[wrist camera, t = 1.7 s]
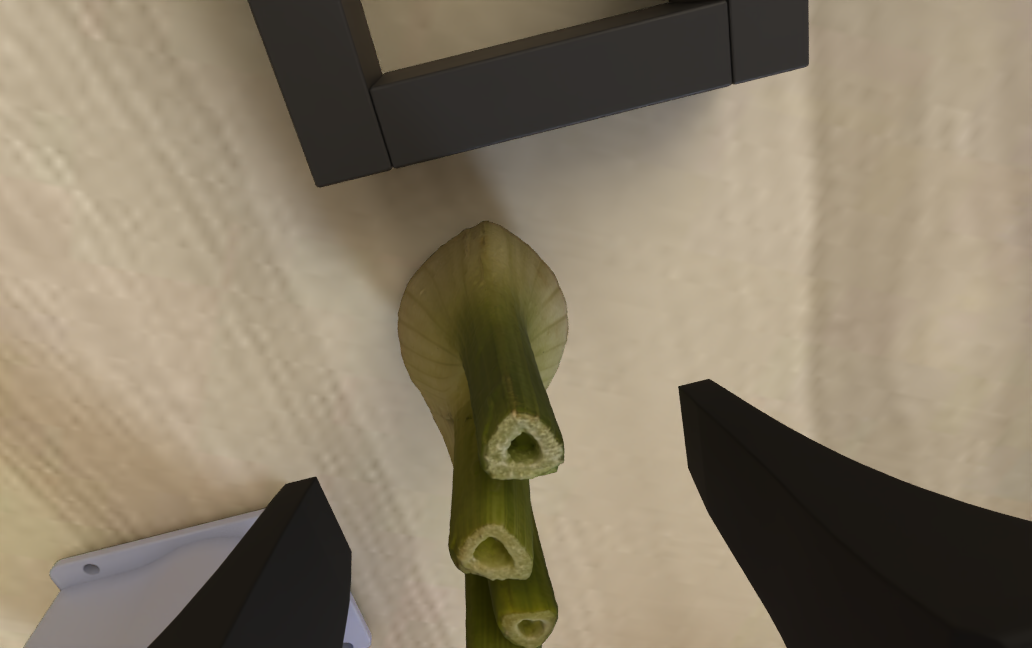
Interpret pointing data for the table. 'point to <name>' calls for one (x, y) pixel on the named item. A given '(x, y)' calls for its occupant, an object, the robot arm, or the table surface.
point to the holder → (507, 76)
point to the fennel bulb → (491, 417)
